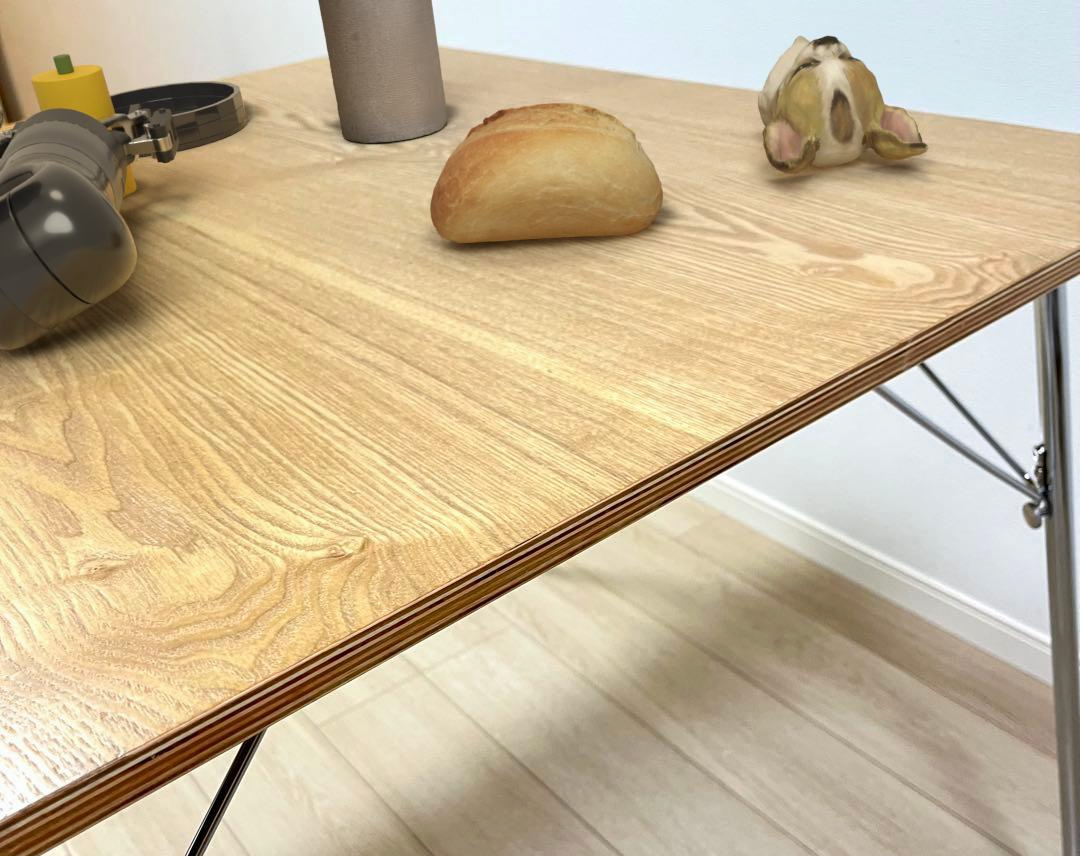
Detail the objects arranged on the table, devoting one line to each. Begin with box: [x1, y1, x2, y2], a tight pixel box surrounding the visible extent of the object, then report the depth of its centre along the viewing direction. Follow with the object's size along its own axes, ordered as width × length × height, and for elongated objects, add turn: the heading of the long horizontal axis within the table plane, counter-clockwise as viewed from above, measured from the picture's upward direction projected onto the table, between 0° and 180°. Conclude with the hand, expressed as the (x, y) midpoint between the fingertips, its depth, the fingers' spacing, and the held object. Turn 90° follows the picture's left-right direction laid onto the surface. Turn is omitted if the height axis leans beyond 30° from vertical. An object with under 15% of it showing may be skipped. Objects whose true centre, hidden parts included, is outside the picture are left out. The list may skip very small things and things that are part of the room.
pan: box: [110, 80, 248, 158], centre depth 109 cm, size 16×16×3 cm
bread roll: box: [429, 102, 664, 244], centre depth 73 cm, size 10×15×8 cm, turn 93°
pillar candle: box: [317, 0, 448, 144], centre depth 99 cm, size 10×10×15 cm
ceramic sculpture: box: [757, 35, 929, 175], centre depth 80 cm, size 11×9×15 cm
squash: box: [30, 53, 137, 197], centre depth 89 cm, size 5×5×11 cm
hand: (83, 126), depth 89 cm, fingers open, 8 cm apart
